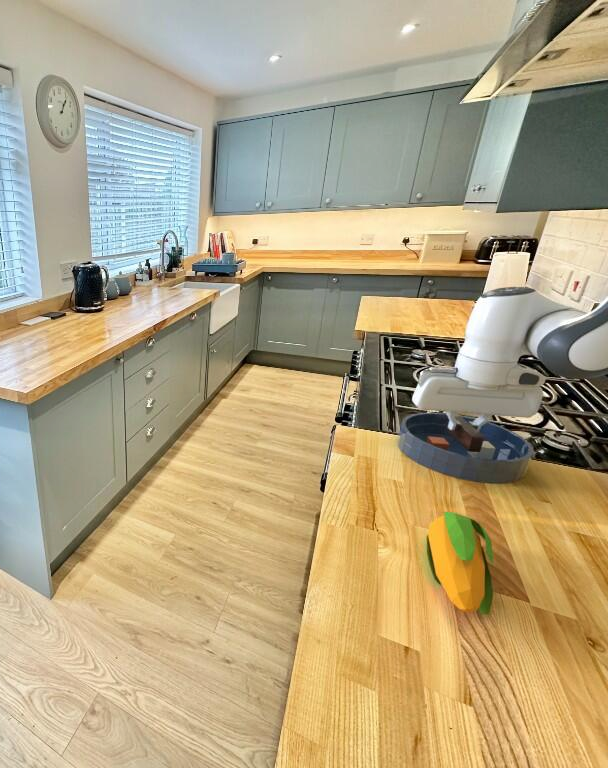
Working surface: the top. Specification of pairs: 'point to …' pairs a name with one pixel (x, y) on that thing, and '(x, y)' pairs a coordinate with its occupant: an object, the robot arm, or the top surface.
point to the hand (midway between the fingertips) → (463, 430)
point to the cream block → (484, 451)
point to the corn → (461, 561)
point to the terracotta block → (438, 442)
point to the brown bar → (467, 436)
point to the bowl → (457, 461)
